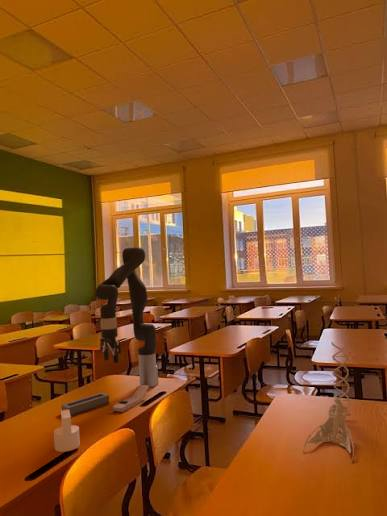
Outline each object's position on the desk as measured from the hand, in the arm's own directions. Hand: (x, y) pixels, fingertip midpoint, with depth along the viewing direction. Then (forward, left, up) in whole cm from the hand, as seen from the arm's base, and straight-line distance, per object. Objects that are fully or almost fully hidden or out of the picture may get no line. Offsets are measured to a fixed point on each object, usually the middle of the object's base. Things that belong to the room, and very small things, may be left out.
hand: (111, 361), depth 193 cm
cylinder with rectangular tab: (+35, +23, -21) cm, 47 cm away
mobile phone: (-6, +6, -21) cm, 23 cm away
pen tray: (+10, -7, -21) cm, 24 cm away
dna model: (-53, +88, -21) cm, 104 cm away
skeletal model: (-28, +97, -21) cm, 103 cm away
